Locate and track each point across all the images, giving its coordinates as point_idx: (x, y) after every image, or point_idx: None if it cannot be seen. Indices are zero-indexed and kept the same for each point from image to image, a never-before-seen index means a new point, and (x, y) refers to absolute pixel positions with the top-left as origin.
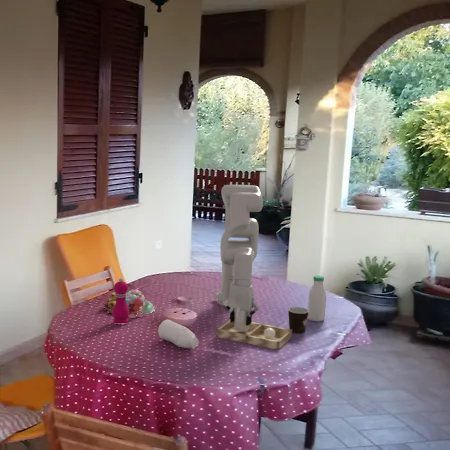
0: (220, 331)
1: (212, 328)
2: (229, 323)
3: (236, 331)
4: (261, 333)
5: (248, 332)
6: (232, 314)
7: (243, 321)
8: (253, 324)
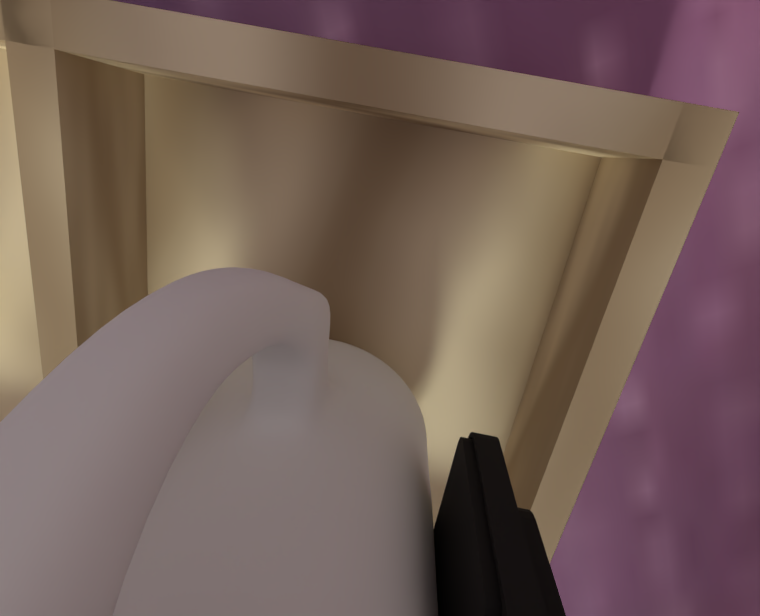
0: (631, 99)
1: (727, 465)
2: None
3: None
4: None
5: None
6: (479, 601)
7: (188, 437)
8: None
